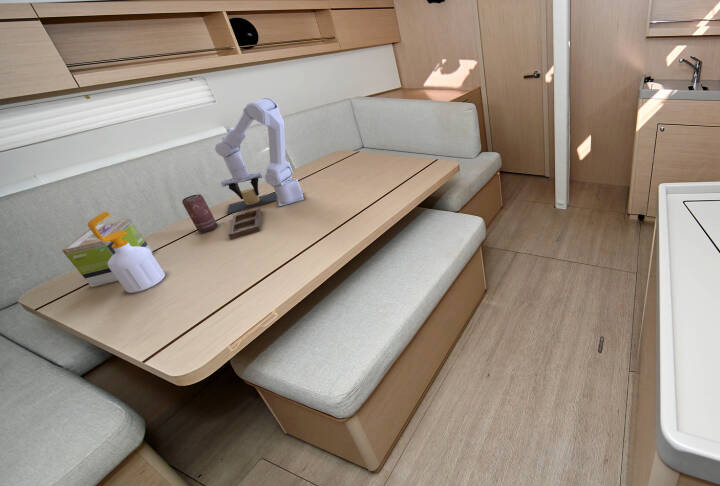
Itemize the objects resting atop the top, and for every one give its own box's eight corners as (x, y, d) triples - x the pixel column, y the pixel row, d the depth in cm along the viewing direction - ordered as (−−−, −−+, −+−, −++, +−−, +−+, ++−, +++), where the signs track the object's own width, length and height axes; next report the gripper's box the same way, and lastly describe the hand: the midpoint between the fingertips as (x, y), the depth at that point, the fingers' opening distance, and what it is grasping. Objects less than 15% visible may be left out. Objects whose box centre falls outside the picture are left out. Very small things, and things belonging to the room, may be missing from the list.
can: (222, 224, 139) (206, 193, 133) (208, 233, 133) (191, 201, 127) (209, 224, 140) (192, 193, 134) (194, 233, 134) (176, 201, 128)
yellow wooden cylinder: (260, 198, 158) (255, 186, 155) (259, 202, 153) (253, 190, 151) (246, 201, 155) (241, 189, 153) (245, 206, 151) (239, 194, 149)
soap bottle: (171, 276, 110) (128, 209, 100) (134, 296, 103) (83, 226, 92) (157, 270, 114) (114, 205, 103) (120, 289, 107) (70, 220, 96)
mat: (276, 192, 162) (276, 192, 162) (276, 200, 155) (276, 200, 154) (229, 205, 154) (229, 204, 154) (227, 214, 147) (226, 213, 146)
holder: (261, 212, 146) (259, 208, 145) (259, 230, 132) (257, 226, 131) (235, 219, 142) (233, 215, 141) (230, 239, 128) (228, 234, 127)
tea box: (118, 260, 121) (93, 224, 115) (154, 252, 124) (131, 216, 118) (89, 288, 108) (59, 249, 102) (130, 278, 111) (103, 239, 105)
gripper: (214, 175, 141) (228, 205, 147) (256, 166, 147) (268, 195, 153) (217, 170, 147) (231, 198, 153) (258, 161, 153) (269, 189, 159)
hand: (250, 196), depth 153 cm, fingers closed on yellow wooden cylinder, 5 cm apart
